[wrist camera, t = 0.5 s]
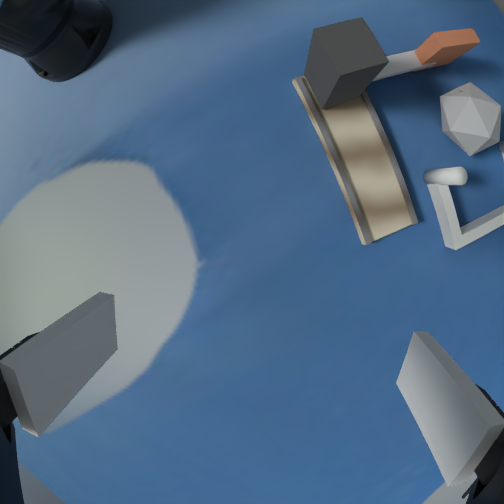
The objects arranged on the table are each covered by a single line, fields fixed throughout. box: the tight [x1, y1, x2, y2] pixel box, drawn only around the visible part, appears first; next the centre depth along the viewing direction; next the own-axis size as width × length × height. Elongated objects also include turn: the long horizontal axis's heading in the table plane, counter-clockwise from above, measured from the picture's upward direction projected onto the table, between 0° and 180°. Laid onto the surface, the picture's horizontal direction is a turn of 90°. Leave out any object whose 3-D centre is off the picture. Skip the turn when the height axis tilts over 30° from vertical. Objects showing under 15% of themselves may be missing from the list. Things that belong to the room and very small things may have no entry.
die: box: [440, 82, 501, 156], centre depth 30 cm, size 8×9×10 cm
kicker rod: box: [304, 17, 480, 110], centre depth 26 cm, size 5×22×13 cm, turn 114°
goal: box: [423, 141, 504, 250], centre depth 31 cm, size 10×18×8 cm, turn 114°
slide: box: [292, 76, 418, 245], centre depth 35 cm, size 22×8×2 cm, turn 24°
